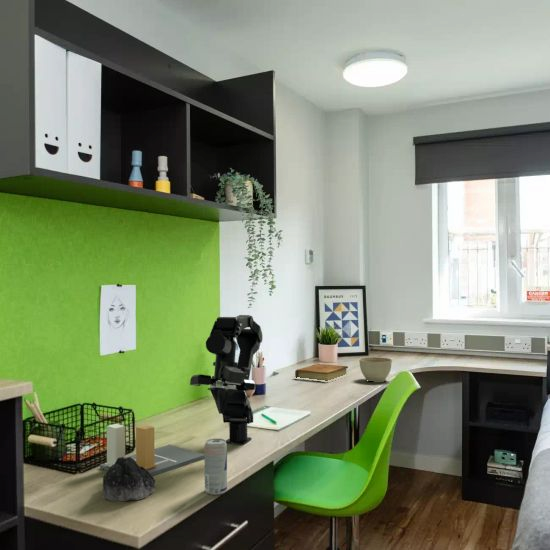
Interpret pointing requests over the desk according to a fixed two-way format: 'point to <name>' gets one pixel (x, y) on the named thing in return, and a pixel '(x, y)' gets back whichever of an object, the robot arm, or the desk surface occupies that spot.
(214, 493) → the energy drink
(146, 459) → the block
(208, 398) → the desk surface
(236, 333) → the robot arm
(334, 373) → the diary
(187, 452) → the grey marked board
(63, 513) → the desk surface
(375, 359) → the planter bowl
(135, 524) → the desk surface
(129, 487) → the crystal cluster
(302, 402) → the desk surface
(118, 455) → the cream fader
